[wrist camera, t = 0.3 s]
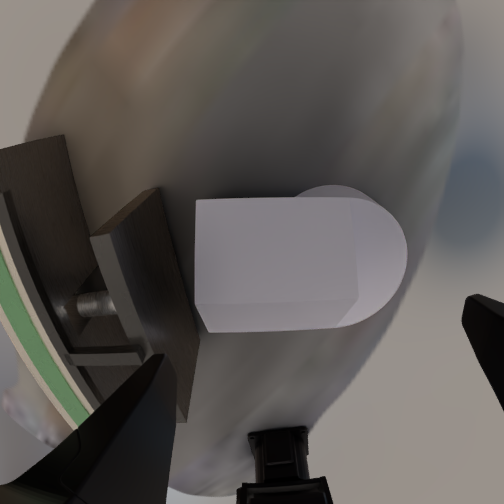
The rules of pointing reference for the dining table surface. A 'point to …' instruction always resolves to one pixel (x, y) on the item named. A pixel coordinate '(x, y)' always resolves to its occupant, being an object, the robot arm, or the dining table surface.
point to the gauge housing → (53, 275)
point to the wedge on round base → (295, 260)
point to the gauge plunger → (120, 296)
